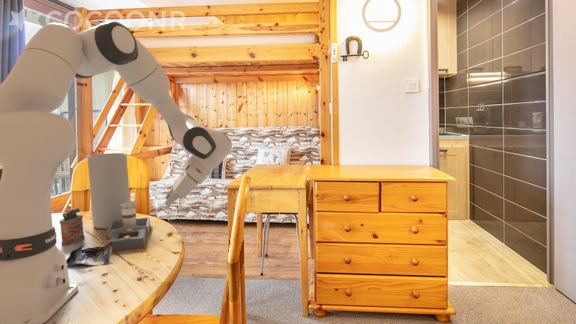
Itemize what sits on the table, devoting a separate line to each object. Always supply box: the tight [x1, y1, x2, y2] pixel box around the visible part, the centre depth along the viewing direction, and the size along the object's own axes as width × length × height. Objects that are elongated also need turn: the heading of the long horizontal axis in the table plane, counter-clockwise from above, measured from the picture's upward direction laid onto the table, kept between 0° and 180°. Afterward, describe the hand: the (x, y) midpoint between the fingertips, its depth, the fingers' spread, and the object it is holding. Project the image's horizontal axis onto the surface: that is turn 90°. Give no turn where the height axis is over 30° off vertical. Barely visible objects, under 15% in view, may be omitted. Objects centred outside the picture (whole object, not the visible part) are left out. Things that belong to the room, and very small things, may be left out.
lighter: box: [59, 207, 85, 247], centre depth 119 cm, size 8×3×10 cm, turn 169°
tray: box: [106, 216, 151, 240], centre depth 128 cm, size 12×12×3 cm
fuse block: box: [108, 229, 147, 253], centre depth 115 cm, size 10×9×4 cm
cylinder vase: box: [86, 152, 131, 230], centre depth 137 cm, size 12×12×25 cm
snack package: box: [66, 242, 113, 267], centre depth 102 cm, size 12×6×12 cm
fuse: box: [120, 200, 137, 228], centre depth 128 cm, size 5×5×10 cm
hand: (166, 201), depth 130 cm, fingers open, 8 cm apart
